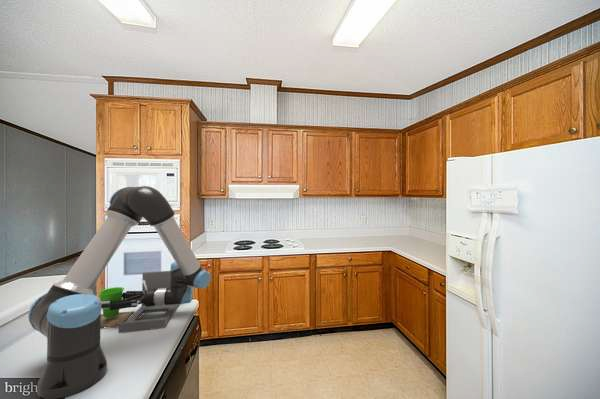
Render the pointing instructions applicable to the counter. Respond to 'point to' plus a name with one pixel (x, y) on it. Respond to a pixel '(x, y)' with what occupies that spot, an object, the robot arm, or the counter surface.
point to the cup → (109, 295)
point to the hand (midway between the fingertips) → (99, 301)
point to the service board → (115, 319)
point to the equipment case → (151, 282)
